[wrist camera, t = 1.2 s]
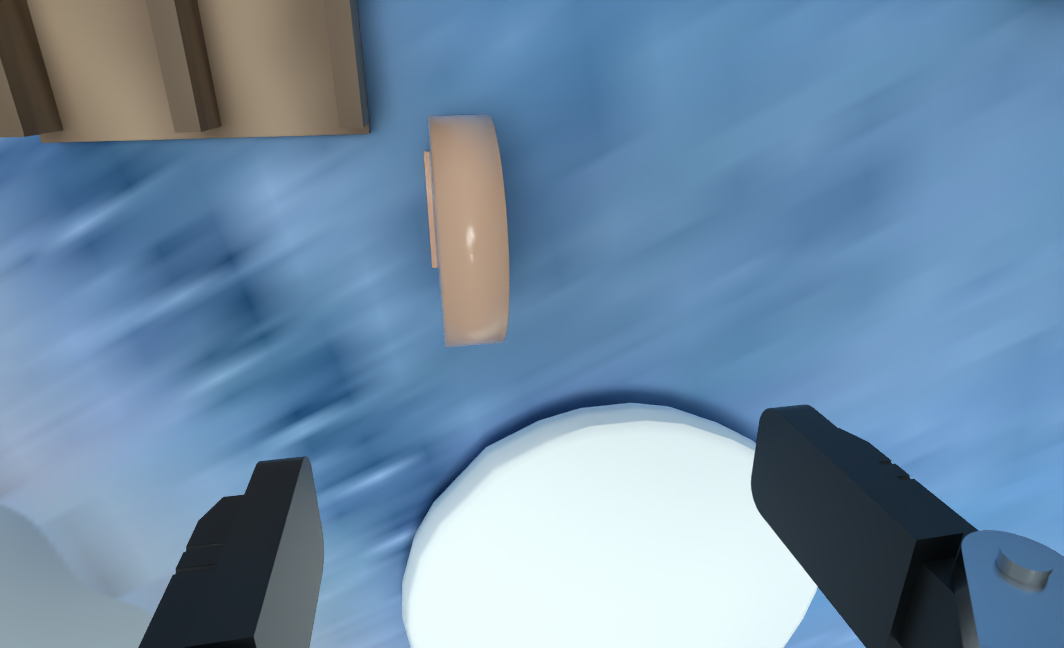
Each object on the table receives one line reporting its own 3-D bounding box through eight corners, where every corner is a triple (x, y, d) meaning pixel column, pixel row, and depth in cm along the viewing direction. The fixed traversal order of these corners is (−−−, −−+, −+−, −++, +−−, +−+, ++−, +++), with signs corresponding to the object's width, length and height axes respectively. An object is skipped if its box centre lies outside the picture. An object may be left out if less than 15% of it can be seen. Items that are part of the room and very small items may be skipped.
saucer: (480, 107, 31) (512, 123, 21) (488, 295, 35) (518, 380, 25) (420, 108, 31) (424, 125, 21) (434, 299, 34) (444, 387, 25)
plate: (385, 769, 41) (411, 417, 32) (398, 681, 47) (422, 364, 38) (783, 774, 44) (910, 456, 35) (747, 691, 50) (847, 401, 41)
